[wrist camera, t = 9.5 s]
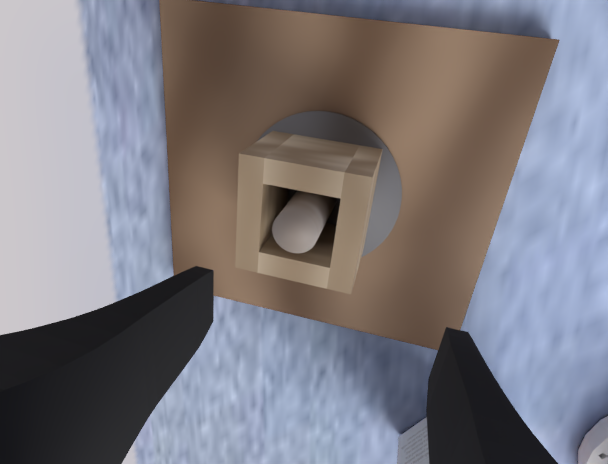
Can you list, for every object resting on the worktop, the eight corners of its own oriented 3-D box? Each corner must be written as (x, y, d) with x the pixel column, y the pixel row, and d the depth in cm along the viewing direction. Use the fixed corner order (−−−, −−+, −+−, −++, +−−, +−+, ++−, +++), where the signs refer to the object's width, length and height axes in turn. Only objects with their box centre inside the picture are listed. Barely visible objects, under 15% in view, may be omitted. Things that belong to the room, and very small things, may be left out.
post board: (552, 39, 16) (607, 43, 11) (450, 341, 23) (458, 424, 18) (171, -2, 19) (85, -13, 14) (182, 277, 26) (127, 333, 21)
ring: (382, 149, 18) (372, 177, 15) (363, 249, 20) (350, 294, 17) (272, 130, 19) (238, 153, 16) (266, 228, 21) (235, 267, 18)
